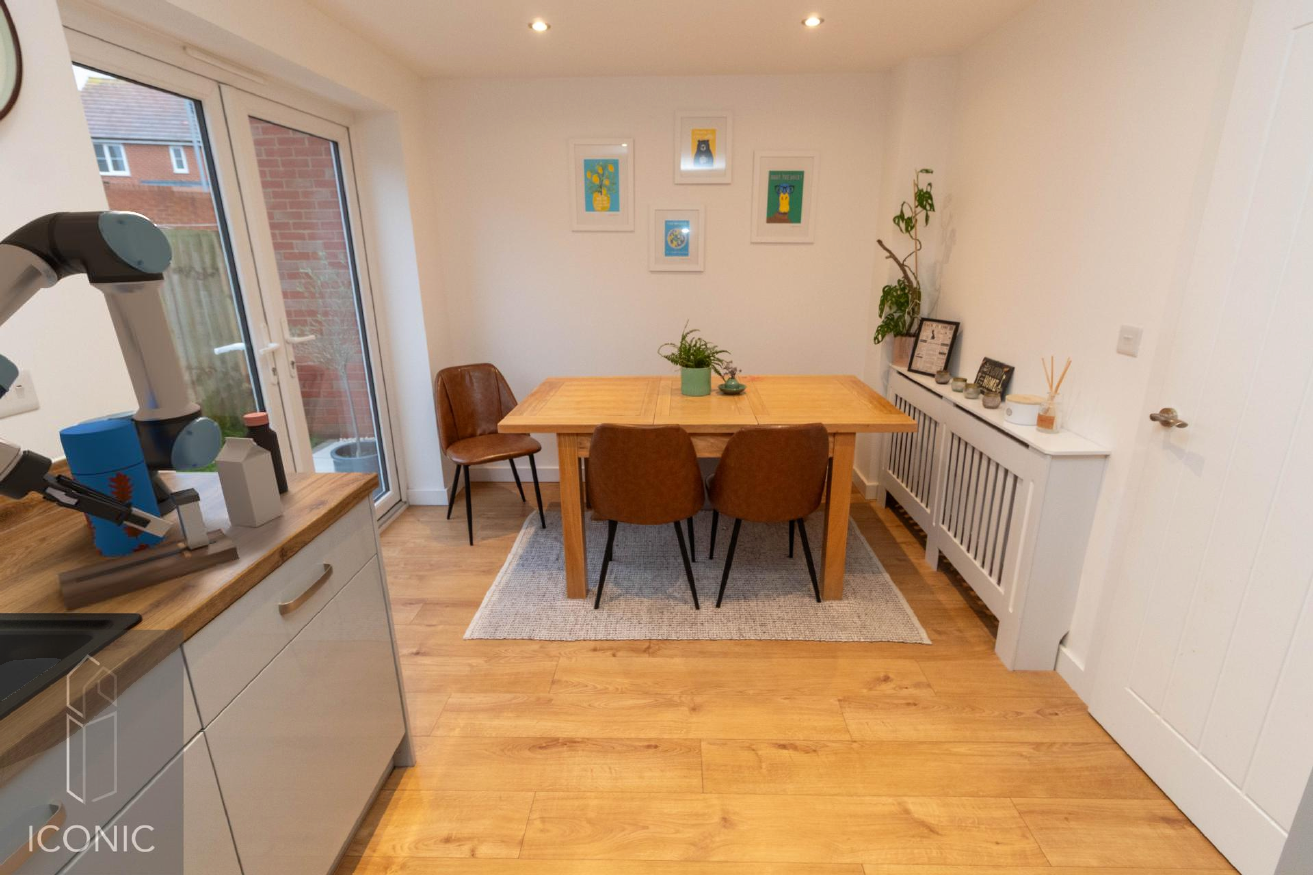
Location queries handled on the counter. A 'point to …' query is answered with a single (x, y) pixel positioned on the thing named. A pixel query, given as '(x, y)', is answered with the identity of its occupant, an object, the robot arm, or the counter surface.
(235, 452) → the milk carton
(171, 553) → the console
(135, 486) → the thermos
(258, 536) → the counter surface
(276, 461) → the bottle
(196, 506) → the fader handle
